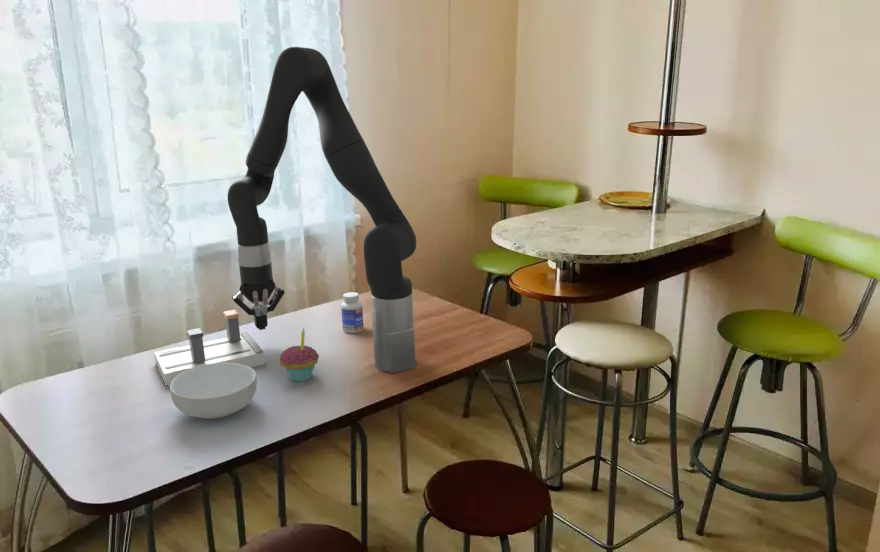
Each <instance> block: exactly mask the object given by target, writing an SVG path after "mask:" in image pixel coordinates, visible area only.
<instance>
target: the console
mask: <svg viewBox="0 0 880 552" xmlns="http://www.w3.org/2000/svg"><path fill="white" fill-rule="evenodd" d="M240 339H241V340H240V341H235V342H230V341H229V340H228V338H227V336H226V337H223V338H222V337H221V338H218V339H212V340H208V341H203V346H204V354H205V361H204V362H199V363H194V362H193V360H192V356H191V349H190V344H188V345H187V344H186V345H184V346H178V347H171V348H166V349H162V350H158V351H154V352H153V355H154V361H155V366H156V365H157V366H156V367H158V368H157V370H158V372H159V374H160V376H162V377H161V379H162V378H163V379H162V381H163V380H164V381H163V383H164V382H165V383H164V385H165V387H168V386H167V385H170V383H171V381H172V380H173V379H174V378H175V377H176V376H177V375H179V374H181V373H182V372H184V371H186V370H189V369H191V368H194V367H197V366H201V365H206V364H212V363H238V364H243V365H246V366H249V367H250V368H254V367H259V366H262V365H263V366H264V365H265V356H264V350H263V349H262V348H261V347H260V345H259V344H258V343H257V342H256V340H255V339H254V338H253V337H252V335H251V334H250V333H249V332H248V331H245V332H241V333H240Z"/></svg>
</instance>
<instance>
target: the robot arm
mask: <svg viewBox="0 0 880 552" xmlns="http://www.w3.org/2000/svg"><path fill="white" fill-rule="evenodd" d="M302 92H303V94H304V95H305V97H306V98H307V99H308V102H309V104H310V105H311V107H312V109H313V112H314V114H315V116H316V119H317V121H318V122H317V123H318V128H319V129H318V130H319V139H320V146H321V149H322V152H323V155H324V158H325V160H326V162H327V163H328V166H329V167H330V170H331V171H332V173H333V175H334V177H335V178H336V180H337V181H338V183H340V185H341V186H342V187H343V188H344V189H345V190H346V191H347V192H349V194H351V195H352V196H353V197H354V198H355V199H357V201H359V203H361V205H362V206H363V207H364V208H365V209H366V211H367V212H368V214H369V216H370V218H371V220H372V221H373V224H374V227H372V228H371V229H369V230H368V231H367V233H366V234H365V237H364V240H363V259H364V266H365V267H364V268H365V276H366V281H367V284H368V286H369V288H370V297H371V316H372V318H371V319H372V336H373V337H372V338H373V350H374V351H373V352H374V366H375V368H376V369H378V370H380V371H384V372H389V373H391V374H394V373H400V372H403V371H406V370H410V369H414V368H415V369H416V344H415V341H416V340H415V339H416V338H415V329H414V306H413V304H414V303H413V302H414V301H413V283H412V281H411V279H410V278H408V277H407V276H404V275H403V267H402V262H403V261H404V260H407V259H408V258H410V257H411V256H412V255H413V254H414V253H415V251H416V249H417V238H416V234H415V231H414V229H413V227H412V225H411V224H410V222H409V220H408V219H407V217H406V216H405V214H404V212H403V211H402V209H401V208H400V206H399V205H398V203H397V202H396V199H394V197H393V195H392V194H391V191H390V190H389V187H388V186H387V184H386V182H385V180H384V178H383V176H382V174H381V172H380V170H379V168H378V167H377V163H376V162H375V160H374V158H373V156H372V154H371V152H370V150H369V148H368V146H367V144H366V142H365V140H364V137H362V135H361V133H360V131H359V129H358V127H357V125H356V123H355V122H354V119H353V117H352V116H351V113H350V111H349V109H348V108H347V105H346V104H345V102H344V100H343V98H342V95H341V93H340V90H339V87H338V85H337V81H336V80H335V77H334V74H333V71H332V70H331V67H330V64H329V62H328V60H327V59H326V57H325V56H324V55H323V54H322V53H321V52H320V51H318V50H316V49H314V48H310V47H303V46H290V47H286V48H285V49H283V50H282V52H280V53H279V55H278V56H277V59H276V61H275V64H274V69H273V72H272V77H271V81H270V86H269V89H268V92H267V93H268V94H267V99H266V101H265V106H264V109H263V113H262V117H261V120H260V123H259V125H258V128H257V131H256V134H255V135H254V138H253V141H252V143H251V145H250V146H249V147H250V148H249V150H248V152H247V155H246V157H245V166H246V167H247V170H246V173H245V175H244V177H243V178H241V179H238V180H236V181H234V182H232V183H231V184H230V186H229V188H228V191H227V204H228V208H229V211H230V213H231V216H232V220H233V222H234V224H235V225H234V226H235V227H236V239H237V261H238V266H239V267H238V269H239V276H240V286H239V291H238V292H237V293H236V294H234V295H232V296H231V299H232V301H233V302H234V303H235V304H236V305H237V306H238V307H240V308H241V309H242V310H243V311H244V312H245V313H246V314H247V315H248V316H253V319H254V320H253V322H254V326H255V327H256V328H257V329H258V330H259V331H262V330H267V329H266V327H268V324H269V323H268V314H269V313H270V312H274V311H275V309H276V308H277V306H278V304H279V303H280V301H281V299H282V298H283V296H284V295H285V293H286V291H285V290H284V289H283V288H282V287H279V286H277V285H276V282H275V281H274V279H273V278H274V277H273V265H272V254H271V248H270V243H269V236H268V234H269V233H268V226H267V222H266V220H265V219H264V218H263V217H261V216H260V215H259V212H258V211H259V210H258V206H260V205H262V204H263V203H265V201H266V200H267V199H268V197H269V195H270V192H271V189H272V186H273V182H274V179H275V172H276V169H277V167H278V165H279V163H280V161H281V158H282V157H283V155H284V151H285V150H286V145H287V142H288V135H289V121H290V116H291V113H292V110H293V107H294V106H295V103H296V102H297V100H298V98H299V97H300V95H301V93H302ZM244 297H245V298H246V299H247V301H249V303H250V305H251V307H249V306H248V305H247V304H246V303H245V302H244V301H245V299H244ZM270 297H271V298H270ZM269 299H270V300H269Z"/></svg>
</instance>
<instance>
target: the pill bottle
mask: <svg viewBox="0 0 880 552" xmlns="http://www.w3.org/2000/svg"><path fill="white" fill-rule="evenodd" d="M342 299H343V302H341V305H340V309H341V321H342V331H343V332H344V333H347V334H357V333H360V332H362V331H363V330H364V313H363V312H364V311H363V303H362V302H361V301H360V296H359V293H358V292H357V291H356V292H354V291H353V292H352V291H351V292H345V293H344V294H342Z"/></svg>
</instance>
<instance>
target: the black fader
mask: <svg viewBox="0 0 880 552" xmlns="http://www.w3.org/2000/svg"><path fill="white" fill-rule="evenodd" d="M186 334H187V336H188V339H189V345H190V349H191V356H192V360H193V362H194V363H199V362H204V361H205V354H204V346H203V342H204V339H203V337H204V332H203V331H202V329H201V328H200V327H197V328H193V329H188V330H186Z"/></svg>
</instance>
